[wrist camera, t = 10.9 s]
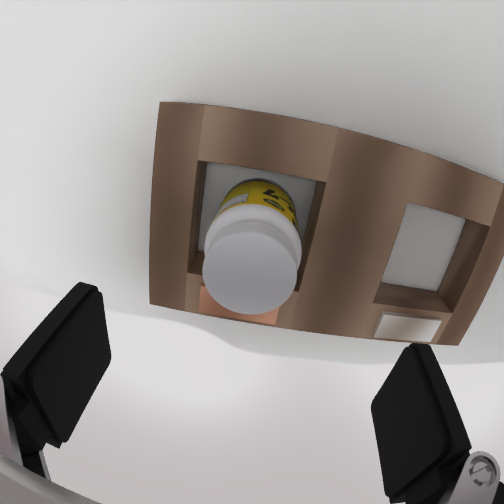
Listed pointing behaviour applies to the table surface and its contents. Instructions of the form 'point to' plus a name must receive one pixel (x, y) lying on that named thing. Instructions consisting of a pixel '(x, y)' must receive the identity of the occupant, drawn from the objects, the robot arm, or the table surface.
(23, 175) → the table surface
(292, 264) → the supplement bottle
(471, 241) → the socket block
